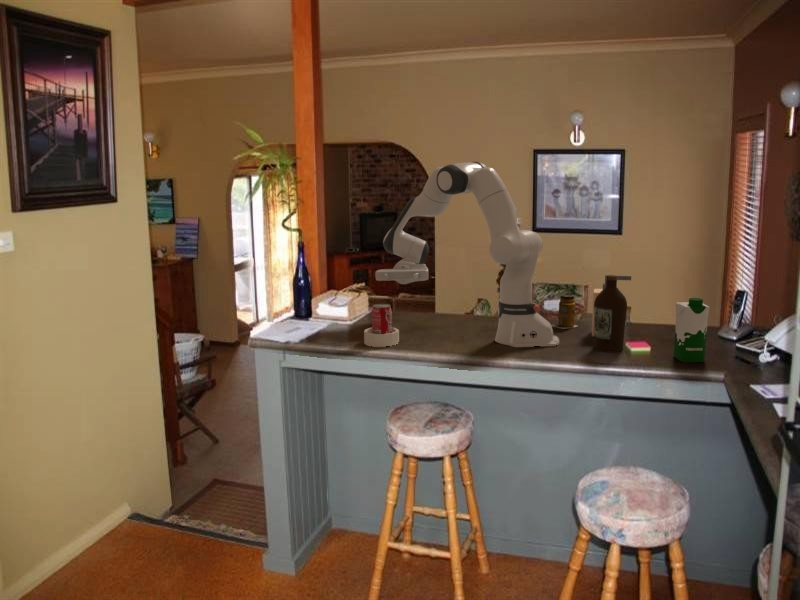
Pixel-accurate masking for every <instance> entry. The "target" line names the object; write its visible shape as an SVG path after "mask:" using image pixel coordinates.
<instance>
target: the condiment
mask: <svg viewBox="0 0 800 600" xmlns="http://www.w3.org/2000/svg"><path fill="white" fill-rule="evenodd" d="M559 298H560V300H559V302H558V323H555V324H551V326H552V328H553V327H554V328H557V329H562V330H565V329H571V328H576V327H578V325H577V324H575V315H576V314H575V313H576V312H575V309H576V302H575V295H573V294H560V296H559Z"/></svg>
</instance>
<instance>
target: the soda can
mask: <svg viewBox="0 0 800 600" xmlns="http://www.w3.org/2000/svg"><path fill="white" fill-rule="evenodd" d="M392 312H393V311H392V308H391V304H389V303H378V304H373V305H372V309H371V328H372V333H374V334H387V333H392V327H393V313H392Z"/></svg>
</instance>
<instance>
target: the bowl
mask: <svg viewBox="0 0 800 600" xmlns="http://www.w3.org/2000/svg"><path fill="white" fill-rule="evenodd" d="M398 342H400V329H398V328H396V327H393V326H392V333H387V334H374V333H372V327H369V328H365V329H364V331H363V343H364V345H366V346H367V347H371V346H372V347H371V348H387V347H386V346H390V347H393V346H392V345H395V346H397V345H398V344H399V343H398ZM396 344H397V345H396Z"/></svg>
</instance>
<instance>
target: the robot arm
mask: <svg viewBox="0 0 800 600" xmlns="http://www.w3.org/2000/svg"><path fill="white" fill-rule="evenodd" d="M469 193H472V194H473V196H474V197H475V199H476V201H477V203H478V205H479V208H480V209H481V210H480V211H482V214H483V216H484V218H485V221H486V223H487V227H488V230H489V231H488V232H489V235H490V244H489V249H488V250H489V255H490V256H491V257H490V258H492V260H493V261H494V262H495V263H497V264H499V265H505V268H504V271H503V274H502V276H501V277H500V280H499V282H500V283H499V301H498V305H497V315H498V324H497V330H496V334H495V337H494V341H495V342H496V343H498V344H500V345H506V346H510V347H513V348H534V346H540V347H557V346H559V345H560V338H559V337H558V336H557V335H554V330H553V326H551V325H552V324H551V323H550V322H549V321H548V320H547V319H546V318H544V316H542V315H540V313H538V312H539V311H540V306H539V305H538V303H536V302H533V300H532V299H533V279H534V274H535V271H536V266H537V261H538V258H539V256H540V254H541V252H542V250H543V247H544V246H543V240H542V237H541V236H540V235H539V233H537V232H535V231H533V230H528V229H522V230H520V229H519V227H518V223H517V214H518V213H517V212H518V209H517V207H516V205H515V204H514V201H513V199H512V197H511V194H510V193H509V190H508V188H507V187H506V185H505V183H504V181H503V179H502V178H501V177H500V175H499V173H498V172H497V171H496V170H495V168H493V167H489V166H487V165H486V164H484V163H483V162H480V161H470V162H469V161H468V162H467V161H466V162H456V163H453V164H446V165H444V166H438V167H436V168H434V170H432V172H431V173H430V175H429V176H428V179H427V180H426V182H425V184H424V187H423V189H422V191H421V193H420V194H418V195H417V196H414V197H413V196H412V197H411V198H410V199H409V200H408V201H407V203H406V205H405V206H404V208H403V209H402V211H401V212H400V214H399V216H398V217H397V218H396V220H395V222H394V224H393V225H392V227H391V228H390V229H388V231H387V233H386V234H385V236H384V237H383V241H382V246H383V248H384V250H385V251H386V253H390V254H391V255H395V256H398V257H400V258H401V260H399V261H398V262H396V263H395V265H394V266H393V268H384V269H383V268H382V269H377V270H376V271H375V280H376V281H378V282H383V281H395V282H396V283H397V284H400V285H407V284H410V283H414V282H415V283H416V282H424V281H428V280H429V279H430V278H429V267H427V264H425V263H426V261H427V258H428V256H429V253H430V246H429V244H428V242H427V241H426V240H424V239H421V238H419V237H417V236H415V235H412V234H409V233H407V232H405V231H404V230H403V229H404V228H405V226H406V225H407V223H408V221H409V220H410V219H411V218H413V217H414V218H415V217H428V218H433V217H438V216H440V215H442V214H443V213H445V211H446V210H447V208H448V207H449V204H450V202H451V200H452V198H453V196H454V195H455V196H456V195H458V194H459V195H461V194H469ZM556 345H557V346H556Z"/></svg>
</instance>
